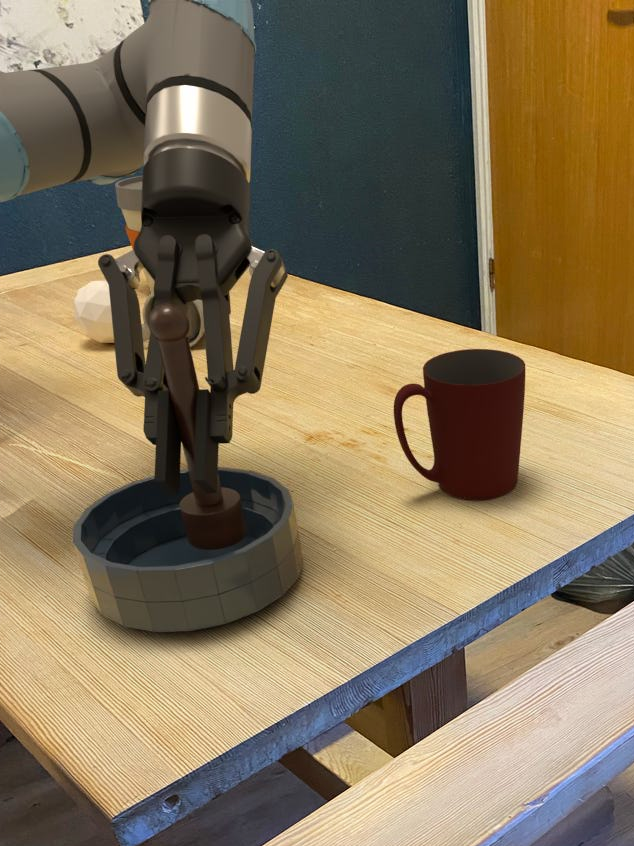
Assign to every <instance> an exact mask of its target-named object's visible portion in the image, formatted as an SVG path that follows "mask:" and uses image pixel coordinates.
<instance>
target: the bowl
mask: <svg viewBox="0 0 634 846" xmlns="http://www.w3.org/2000/svg"><path fill="white" fill-rule="evenodd" d="M218 476H219V481H220V485H221V487H223V488H229V489H233V490H235V491H236V492H237V493H238V494H239V496H240V500H241V505H242V510H243V515H244V519H245V524H246V529H247V533H246V536H245V537H244V538H243V539H242V540H241V541H240V542H238V543H236V544H234V545H232V546H229V547H226V548H222V549H216V550H203V549H198V548H195V547H193V546H192V545H191V544H190V543H189V542H188V538H187V534H186V530H185V526H184V522H183V518H182V514H181V510H180V502H181V500H182V499H183V498H184V497H185V496H187V495H189V494H190V493H192V492H193V488H192V484H191V480H190V476H189V472H188V468H187V469H180V488H179V494H168V493H167V492H166V491H165V490H164V489H162V488H161V487H160V486H159V485H158V484H157V483H155V482H154V477H155V474H154V475H151V476H148V477H145V478H142V479H138V480H134V481H132V482H129V483H127V484H125V485H122V486H120V487H118V488H115V489H114V490H111V491H110V492H108V493H106V494H104V495H102V496H101V497H99V498H98V499H97V500H96V501H94V502H93V503H92V504H90V505H89V506H87V507H86V508H84V510H83V511H82V513H81V514H80V516H79V517H78V518H77V520H76V521H75V522H74V524H73V527H72V545H73V548H74V551H75V554H76V557H77V560H78V563H79V566H80V570H81V573H82V576H83V579H84V581H85V585H86V587H87V588H86V589H87V590H88V593H89V596H90V600H91V602H92V603H93V605H94V606H95V607H96V608H97V610H98V611H99V613H100V614H101V615H102V616H103V617H104V618H107V619H109V620H110V621H113V622H115V623H117V624H118V625H121V626H122V627H125V628H130V629H134V630H135V629H136V630H142V631H146V632H154V633H171V632H173V633H174V632H176V633H177V632H192V631H199V630H200V631H201V630H205V629H210V628H215V627H219V626H222V625H223V626H224V625H226V624H229V623H232V622H236V621H238V620H240V619H243V618H245V617H248V616H249V615H252V614H255V613H257V612H259V611H261V610H263V609H264V608H266V607H267V606H269V605H270V604H272V603H273V602H275V601H277V600H278V599H280V598H281V597H283V596H284V595H285V594H286V593H287V592H288V590H289V589H291V587H292V586H293V585H294V584H295V582H297V580H298V579H299V575H300V573H301V568H302V565H303V562H304V559H303V552H302V546H301V541H300V534H299V528H298V521H297V516H296V509H295V504H294V501H293V498H292V496H291V495H292V494H291V493H290V490H289V489H288V488H287V487H286V486H285V485H283V484H282V483H281V482H280V481H278V480H277V479H276V478H274V477H272V476H268V475H266V474H263V473H261V472H260V473H259V472H257V471H254V470H249V469H243V468H234V467H224V466H218Z"/></svg>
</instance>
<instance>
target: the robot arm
mask: <svg viewBox="0 0 634 846" xmlns="http://www.w3.org/2000/svg"><path fill="white" fill-rule="evenodd" d="M147 1H148V2H147V4H148V6H147V7H148V11H149V15H148V16H147V19H146V21H145V22H144V23H143V24H141V25H140V26H139V27H137V28H136V29H135V30H133V31H131V32H130V34H128V35H127V36H126V37H125V38H124V39H122V40H121V41H120V43H119V44H117V45H115V46H114V47H113V48H111V49H110V50H109V51H107V52H106V53H104V54H103V55H101V56H100V57H98V58H97V59H94V60H92V61H89V62H84V63H83V62H82V63H75V64H67V65H59V66H52V67H44V68H38V69H37V68H36V69H28V70H27V69H26V70H18V71H17V70H16V71H8V72H7V71H6V72H4V71H1V70H0V203H4V202H8V201H11V200H15V198H17V197H19V196H23V195H27V194H30V193H31V194H32V193H34V192H38V191H41V190H45V189H49V188H53V187H56V186H61V185H65V184H70V183H71V184H72V183H76V182H81V181H87V182H90V183H92V184H96V185H109V184H113V183H116V182H118V181H120V180H122V179H123V178H125V177H127V176H133V175H135V174H136V173H138V172H140V171H141V169H142V167H143V169H142V176H143V178H142V199H141V223H142V226H141V230H140V233H139V234H138V236H137V238H136V239H135V241H134V246H133V247H134V250H133V249H132V250H130V251H128V252H126V253H124V254H122V255H121V256H119V257H117V258H115V257H114V256H113V255H111V254H109V253H104V254H102V255H101V256H100V257H99V258H98V261H97V264H98V267H99V269H100V271H101V273H102V275H103V277H104V279H105V281H107V283H108V285H109V293H110V303H111V314H112V324H113V334H114V343H113V344H114V352H115V355H114V356H115V361H116V362H115V363H116V374H117V378H118V380H119V381H120V382H121V383H122V385H124V386H125V388H127V389H128V390H129V391H130V393H132V395H134V396H135V397H138V398H139V397H143V398H144V408H143V410H144V411H143V417H144V418H143V433H144V436H145V439H146V440H147V441H149V442H150V443H151V444H152V445H153V446H155V455H154V456H155V459H154V460H155V461H154V475H155V477H154V482H155V483H157V484H158V485H159V486H160V487H161V488H162V489H164V490H165V491H166V492H167V493H168V494H179V488H180V470H181V459H182V458H181V457H182V455H181V454H182V442H181V438H180V434H179V430H178V425H177V421H176V417H175V413H174V409H173V405H172V400H171V396H170V392H169V388H168V384H167V379H166V375H165V371H164V367H163V363H162V358H161V354H160V350H159V346H158V342H157V339H156V338H155V337H154V336H153V335H152V333H151V331H150V338H149V339H148V346H147V352H146V355H145V346H144V342H143V335H142V315H141V306H140V300H139V297H138V294H137V291H136V290H138V289H139V288H140V285H141V284H140V282H141V278H140V273H141V271H143V268H145V269H146V270H147V272H148V273H149V274H150V276H151V277H152V278H153V280H154V281H155V283H154V296H155V305H154V308H155V307H157V306H159V305H161V304H166V303H168V304H174V305H176V306H178V307H180V308H181V309H182V310H183V311H184V312H185V313H186V315H187V313H188V306H189V302H191V301H195V300H202V304H203V318H204V331H205V332H204V342H205V344H204V345H205V357H206V369H207V371H206V372H207V376H204V380H205V382H206V383H207V384H208V386H209V387H210V390H209V389H205V388H204V389H201V388H199V389H200V390H197V403H196V432H195V461H194V481H195V482H196V483H197V484H198V485H199V486H200V487H201V488H202V489H203V490H204V491H205V492H206V493H217V483H218V467H219V446H220V444H221V445H222V444H230V443H231V441H232V439H233V429H234V428H233V427H234V425H233V424H234V403H235V400H236V399H237V398H238V397H240V396H242V395H245V394H250V395H254V394H256V393H258V392H259V391H260V390H261V387H262V382H263V381H262V380H263V375H264V370H265V364H266V358H267V351H268V347H269V346H268V345H269V339H270V334H271V328H272V322H273V317H274V316H273V315H274V310H275V304H276V300H277V299H276V298H277V297H278V295H279V293H280V291H281V290H282V288H283V287H284V284H285V283H286V281H287V279H288V277H289V275H288V271H287V268H286V266H285V263H284V262H283V259H282V257H281V255H280V253H279V251H278V250H276V249H274V248H272V249H267V250H265V251H263V250H262V249H259V248H257V247H255V245H254V243H253V241H252V238H251V236H250V224H251V223H250V222H251V221H250V219H251V186H250V182H251V166H252V165H251V164H252V163H251V162H252V142H253V141H252V140H253V139H252V138H253V129H252V127H253V105H254V103H253V102H254V98H253V97H254V79H255V78H254V76H255V75H254V74H255V56H256V54H257V44H256V41H255V26H254V25H255V22H254V9H253V5H252V1H251V0H147ZM247 270H248V272H249V276H250V280H249V285H248V291H247V296H246V302H245V308H244V313H243V319H242V324H241V329H240V334H239V335H240V336H239V342H238V348H237V353H236V358H235V365H234V355H233V344H232V342H233V341H232V332H231V318H230V317H231V316H230V315H231V313H232V308H231V307H232V306H231V294H230V292H231V291H232V290H233V288H234V287H235V285H236V284H237V283H238V281H240V279H241V277H242V276H243V275H244V274H245V273H246V272H247Z"/></svg>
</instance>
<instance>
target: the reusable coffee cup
mask: <svg viewBox="0 0 634 846" xmlns="http://www.w3.org/2000/svg"><path fill="white" fill-rule="evenodd" d="M142 178H143V175H137V176H132V177H128V178H124V179H120V180H117V181H116V182H115V183H114V186H115V187H114V188H115V194H116V202H117V207H118V208H119V209H121V212H122V215H123V218H124V220H125V223H126V225H124V229H125V233H126V234H127V237H128V241H129V243H130V246H131V248H132V250H134V247H133V246H134V241H135V239H136V238H137V236H138V234H139V233H140V230H141V226H142V223H141V199H142ZM142 271H143V273H144V277H145V280H146V283H147V285H148V287H149V290H150V294H151V293H152V292H154V283H155V281H154V280H153V278H152V277H151V276H150V274H149V273H148V272H147V270H146V269H145V268H143V269H142Z"/></svg>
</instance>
